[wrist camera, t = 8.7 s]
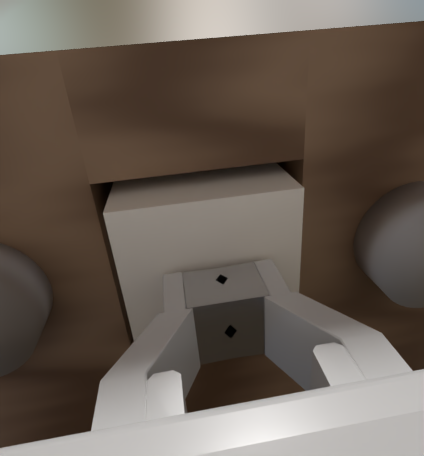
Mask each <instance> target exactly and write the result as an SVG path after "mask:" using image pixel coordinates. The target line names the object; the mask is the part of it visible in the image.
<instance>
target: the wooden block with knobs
mask: <svg viewBox="0 0 424 456" xmlns="http://www.w3.org/2000/svg"><path fill="white" fill-rule="evenodd" d="M275 162H276V163H277V164H278V165H279V166H280V167H281V168H282V169H284V170H285V171H286V172H287V173H288V174H289V175H290V176H291V177H293V178H294V179H295V180H296V181H297V182H298V183H299V184H300V185H302V186H303V187H304V204H303V224H302V244H301V264H300V283H299V293H300V294H302V295H304V296H307V297H309V298H311V299H313V300H315V301H317V302H319V303H321V304H323V305H325V306H327V307H329V308H331V309H333V310H335V311H338V312H340V313H342V314H344V315H346V316H348V317H350V318H352V319H354V320H356V321H358V322H360V323H362V324H364V325H366V326H369V327H371V328H373V329H375V330H377V331H379V332H381V333H382V334H383V335H384V336H385V338H386V339H387V340H388V341H389V342H390V344H391V345H392V346H393V347H394V349H395V350H396V351H397V352H398V353H399V355H400V356H401V357H402V358H403V359H404V361H405V362H406V363H407V364H408V366H409V367H410V368H411V369H412V370H413V371H416V370H422V369H424V21H418V22H405V23H393V24H382V25H368V26H356V27H344V28H331V29H319V30H306V31H294V32H281V33H270V34H256V35H244V36H232V37H220V38H207V39H194V40H182V41H169V42H157V43H145V44H132V45H120V46H107V47H96V48H83V49H70V50H58V51H45V52H33V53H21V54H8V55H0V448H3V447H8V446H13V445H19V444H24V443H29V442H35V441H40V440H46V439H51V438H56V437H62V436H67V435H72V434H78V433H83V432H88V431H91V428H92V423H93V417H94V412H95V406H96V401H97V395H98V390H99V384H100V381H101V379H102V378H103V377H104V376H105V375H106V374H107V372H108V371H109V370H110V369H111V368H112V367H113V365H114V364H115V363H116V362H117V361H118V360H119V359H120V357H121V356H122V355H123V354H124V353H125V352H126V350H127V349H128V348H129V347H130V346H131V345H132V343H133V342H134V340H133V335H132V331H131V327H130V323H129V319H128V315H127V311H126V307H125V302H124V298H123V294H122V290H121V286H120V282H119V278H118V274H117V269H116V265H115V261H114V257H113V253H112V249H111V245H110V241H109V236H108V232H107V228H106V224H105V220H104V216H103V211H104V208H105V205H106V203H107V200H108V197H109V194H110V191H111V188H112V185H113V182H114V181H122V180H130V179H139V178H147V177H156V176H164V175H173V174H181V173H190V172H198V171H207V170H215V169H224V168H232V167H241V166H249V165H258V164H266V163H275ZM200 366H201V367H200V369H199V371H198V373H197V375H196V378H195V380H194V382H193V384H192V386H191V388H190V390H189V392H188V395H187V397H186V399H185V401H186V407H187V413H190V412H196V411H201V410H206V409H212V408H217V407H222V406H228V405H233V404H238V403H244V402H249V401H254V400H260V399H265V398H270V397H276V396H281V395H286V394H292V393H297V392H302V391H306V390H305V389H303V388H302V387H301V386H300V385H299V384H298V383H297V382H295V381H294V380H293V379H292V378H291V377H290V376H288V375H287V374H286V373H285V372H284V371H283V370H282V369H280V368H279V367H278V366H277V365H276V364H275V363H274V362H272V361H271V360H270V359H269V358H268V357H267V356H265V354H259V355H252V356H245V357H238V358H232V359H227V360H222V361H217V362H212V363H207V364H202V365H200Z"/></svg>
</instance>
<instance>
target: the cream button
mask: <svg viewBox="0 0 424 456" xmlns="http://www.w3.org/2000/svg"><path fill="white" fill-rule="evenodd" d="M303 204H304V187H303V186H302V185H300V184H299V183H298V182H297V181H296V180H295V179H294V178H293V177H291V176H290V175H289V174H288V173H287V172H286V171H285V170H284V169H282V168H281V167H280V166H279V165H278V164H277V163H276V162H275V163H266V164H258V165H249V166H241V167H232V168H224V169H215V170H207V171H198V172H190V173H181V174H173V175H164V176H156V177H147V178H139V179H130V180H122V181H114V182H113V185H112V188H111V191H110V194H109V197H108V200H107V203H106V205H105V208H104V211H103V216H104V220H105V224H106V228H107V232H108V236H109V241H110V245H111V249H112V253H113V257H114V261H115V265H116V269H117V274H118V278H119V282H120V286H121V290H122V294H123V298H124V302H125V307H126V311H127V315H128V319H129V323H130V327H131V331H132V335H133V340H134V341H135V340H136V339H137V338H138V336H139V335H140V334H141V333H142V332H143V331H144V329H145V328H146V327H147V326H148V325H149V324H150V322H151V321H152V320H153V319H154V318H155V317H156V315H157V314H159V313H164V310H163V275H164V274H170V273H176V272H181V273H182V272H184V271H192V270H200V269H208V268H216V267H218V268H219V267H225V266H231V265H237V264H243V263H249V262H253V261H259V260H264V259H272V260H273V262H274V264H275V265H276V267H277V269H278V271H279V272H280V274H281V276H282V277H283V279H284V281H285V282H286V284H287V286H288V288H289V289H290V291H291V292H298V293H299V283H300V264H301V244H302V224H303ZM182 277H183V274H182Z"/></svg>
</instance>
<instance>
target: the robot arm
mask: <svg viewBox="0 0 424 456" xmlns="http://www.w3.org/2000/svg"><path fill="white" fill-rule="evenodd" d="M182 274H183V277H182ZM163 310H164V313H159V314H157V315H156V317H155V318H154V319H153V320H152V321H151V322H150V324H149V325H148V326H147V327H146V328H145V329H144V331H143V332H142V333H141V334H140V335H139V336H138V338H137V339H136V340H135V341H134V342H133V343H132V345H131V346H130V347H129V348H128V349H127V350H126V352H125V353H124V354H123V355H122V356H121V357H120V359H119V360H118V361H117V362H116V363H115V364H114V365H113V367H112V368H111V369H110V370H109V371H108V372H107V374H106V375H105V376H104V377H103V378H102V379H101V381H100V384H99V390H98V395H97V401H96V406H95V412H94V417H93V423H92V428H91V431H88V432H83V433H78V434H72V435H67V436H62V437H56V438H51V439H46V440H40V441H35V442H29V443H24V444H19V445H13V446H8V447H3V448H0V456H424V369H422V370H416V371H413V370H412V369H411V368H410V367H409V366H408V364H407V363H406V362H405V361H404V359H403V358H402V357H401V356H400V355H399V353H398V352H397V351H396V350H395V349H394V347H393V346H392V345H391V344H390V342H389V341H388V340H387V339H386V338H385V336H384V335H383V334H382V333H381V332H379V331H377V330H375V329H373V328H371V327H369V326H366V325H364V324H362V323H360V322H358V321H356V320H354V319H352V318H350V317H348V316H346V315H344V314H342V313H340V312H338V311H335V310H333V309H331V308H329V307H327V306H325V305H323V304H321V303H319V302H317V301H315V300H313V299H311V298H309V297H307V296H304V295H302V294H300V293H298V292H291V291H290V289H289V288H288V286H287V284H286V282H285V281H284V279H283V277H282V276H281V274H280V272H279V271H278V269H277V267H276V265H275V264H274V262H273V260H272V259H264V260H259V261H253V262H249V263H243V264H237V265H231V266H225V267H219V268H218V267H216V268H208V269H200V270H192V271H184V272H182V273H181V272H176V273H170V274H164V275H163ZM259 354H265V356H267V357H268V358H269V359H270V360H271V361H272V362H274V363H275V364H276V365H277V366H278V367H279V368H280V369H282V370H283V371H284V372H285V373H286V374H287V375H288V376H290V377H291V378H292V379H293V380H294V381H295V382H297V383H298V384H299V385H300V386H301V387H302V388H303V389H305V390H306V391H302V392H297V393H292V394H286V395H281V396H276V397H270V398H265V399H260V400H254V401H249V402H244V403H238V404H233V405H228V406H222V407H217V408H212V409H206V410H201V411H196V412H190V413H187V407H186V401H185V399H186V397H187V395H188V392H189V390H190V388H191V386H192V384H193V382H194V380H195V378H196V375H197V373H198V371H199V369H200V367H201V366H200V365H202V364H207V363H212V362H217V361H222V360H227V359H232V358H238V357H245V356H252V355H259Z"/></svg>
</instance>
